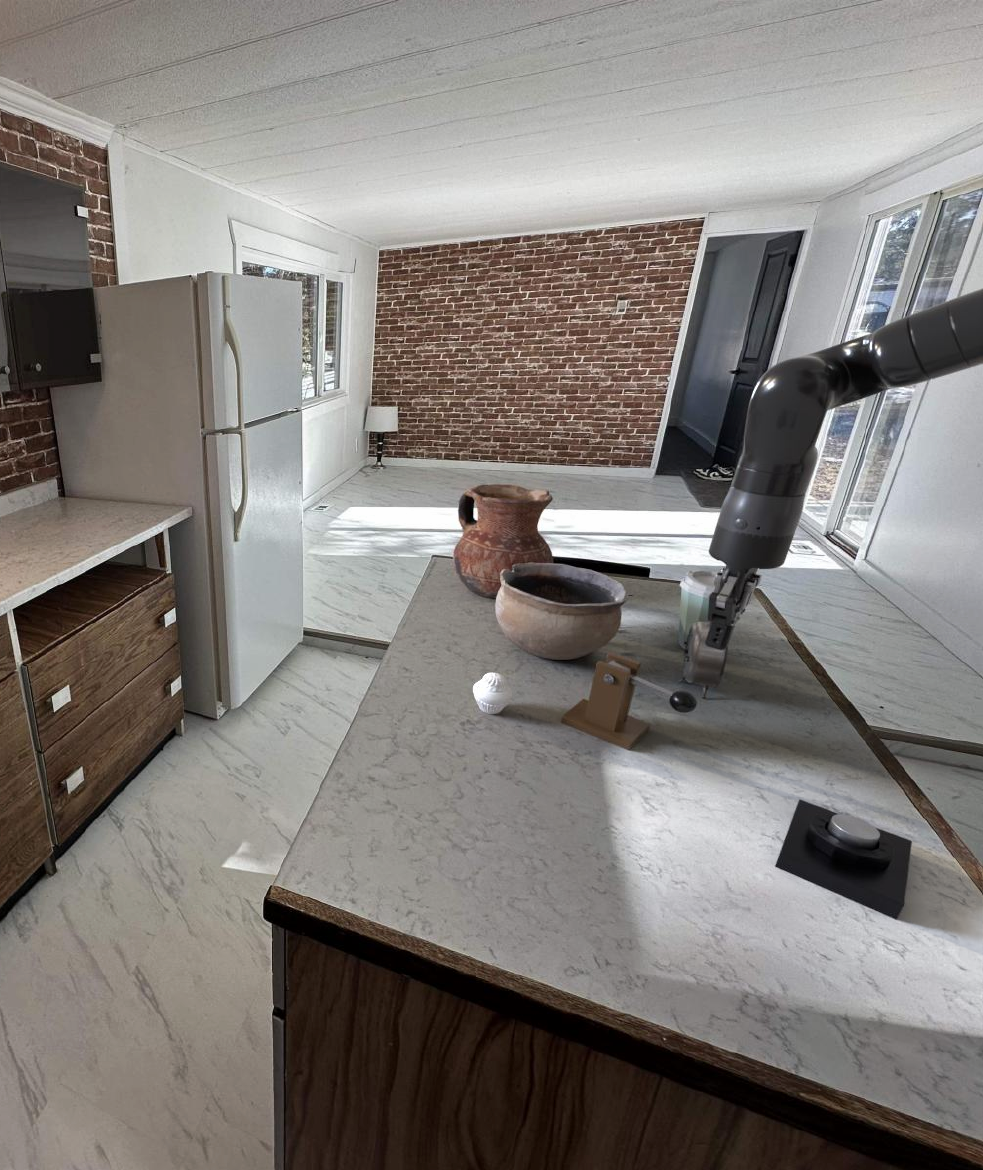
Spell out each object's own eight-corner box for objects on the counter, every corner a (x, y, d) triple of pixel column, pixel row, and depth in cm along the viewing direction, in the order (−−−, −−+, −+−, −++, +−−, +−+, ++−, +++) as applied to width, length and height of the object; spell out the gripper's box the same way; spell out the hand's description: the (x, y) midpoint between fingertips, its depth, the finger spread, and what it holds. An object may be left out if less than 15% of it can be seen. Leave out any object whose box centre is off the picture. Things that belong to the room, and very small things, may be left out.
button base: (794, 812, 82) (803, 787, 80) (905, 854, 75) (917, 829, 73) (774, 866, 74) (785, 840, 72) (896, 920, 67) (910, 892, 65)
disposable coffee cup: (741, 649, 121) (763, 578, 115) (719, 667, 116) (742, 593, 110) (678, 631, 129) (696, 563, 124) (655, 646, 124) (673, 577, 118)
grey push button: (829, 820, 76) (834, 809, 75) (876, 838, 73) (881, 826, 72) (824, 837, 73) (829, 826, 72) (872, 856, 70) (878, 844, 70)
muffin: (488, 696, 110) (493, 661, 108) (517, 713, 105) (523, 677, 103) (462, 705, 108) (467, 670, 105) (491, 723, 103) (497, 687, 100)
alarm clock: (715, 704, 105) (743, 617, 99) (676, 696, 108) (700, 611, 101) (710, 675, 113) (735, 593, 107) (674, 668, 116) (695, 588, 110)
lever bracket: (648, 729, 99) (666, 665, 95) (628, 750, 95) (646, 683, 90) (582, 704, 107) (595, 643, 102) (560, 722, 102) (573, 659, 98)
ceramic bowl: (492, 619, 139) (501, 555, 133) (606, 634, 129) (621, 567, 124) (487, 665, 120) (497, 593, 115) (619, 686, 111) (637, 610, 105)
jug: (545, 579, 158) (561, 482, 148) (550, 612, 140) (569, 504, 131) (452, 570, 167) (462, 478, 157) (446, 600, 149) (457, 498, 140)
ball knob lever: (694, 711, 91) (703, 694, 90) (687, 720, 90) (696, 702, 88) (607, 673, 100) (614, 656, 98) (599, 680, 98) (606, 663, 96)
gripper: (782, 543, 71) (736, 674, 78) (807, 520, 79) (763, 640, 86) (702, 529, 77) (666, 652, 83) (733, 508, 84) (697, 622, 91)
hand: (715, 646), depth 84 cm, fingers closed
